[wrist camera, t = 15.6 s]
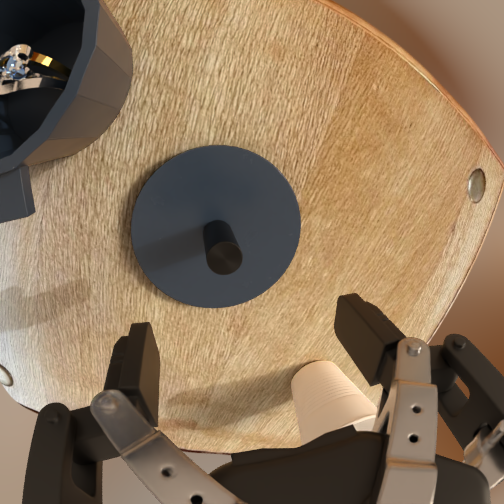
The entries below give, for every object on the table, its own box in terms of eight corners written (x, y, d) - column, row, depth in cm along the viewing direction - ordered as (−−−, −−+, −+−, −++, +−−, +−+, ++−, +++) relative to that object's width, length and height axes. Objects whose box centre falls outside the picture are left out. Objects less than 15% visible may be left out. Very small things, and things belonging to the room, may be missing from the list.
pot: (13, 202, 18) (-52, 240, 10) (13, 21, 11) (-42, -6, 3) (139, 176, 20) (105, 204, 12) (138, -21, 13) (119, -84, 5)
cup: (258, 383, 32) (284, 461, 22) (326, 332, 30) (373, 405, 21) (302, 408, 36) (329, 471, 26) (359, 367, 35) (400, 426, 25)
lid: (149, 309, 25) (143, 352, 20) (122, 155, 20) (100, 162, 14) (294, 290, 27) (318, 327, 22) (296, 141, 22) (329, 144, 17)
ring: (100, 75, 16) (58, 49, 9) (82, 112, 17) (32, 105, 10) (36, 58, 14) (-16, 38, 7) (21, 93, 15) (-37, 86, 7)
